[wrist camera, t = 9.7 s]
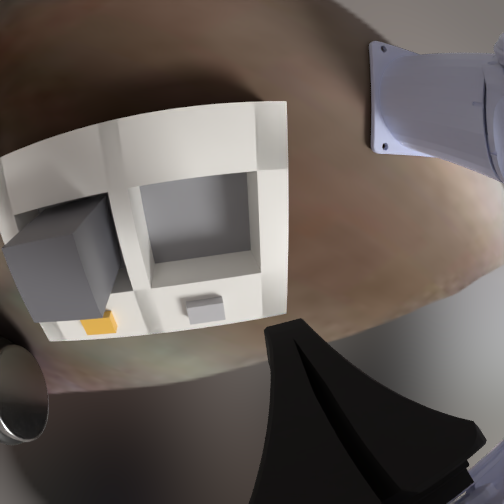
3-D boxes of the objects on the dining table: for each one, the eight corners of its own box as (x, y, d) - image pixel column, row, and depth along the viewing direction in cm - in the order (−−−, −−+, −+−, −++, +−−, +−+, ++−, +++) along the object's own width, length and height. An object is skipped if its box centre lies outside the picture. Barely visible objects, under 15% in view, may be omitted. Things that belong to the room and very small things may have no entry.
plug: (110, 190, 14) (72, 233, 9) (124, 253, 16) (102, 318, 11) (52, 203, 13) (1, 248, 8) (69, 261, 15) (34, 322, 10)
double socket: (266, 103, 14) (290, 100, 11) (271, 282, 20) (289, 319, 17) (14, 153, 12) (-23, 167, 8) (63, 309, 18) (47, 347, 14)
